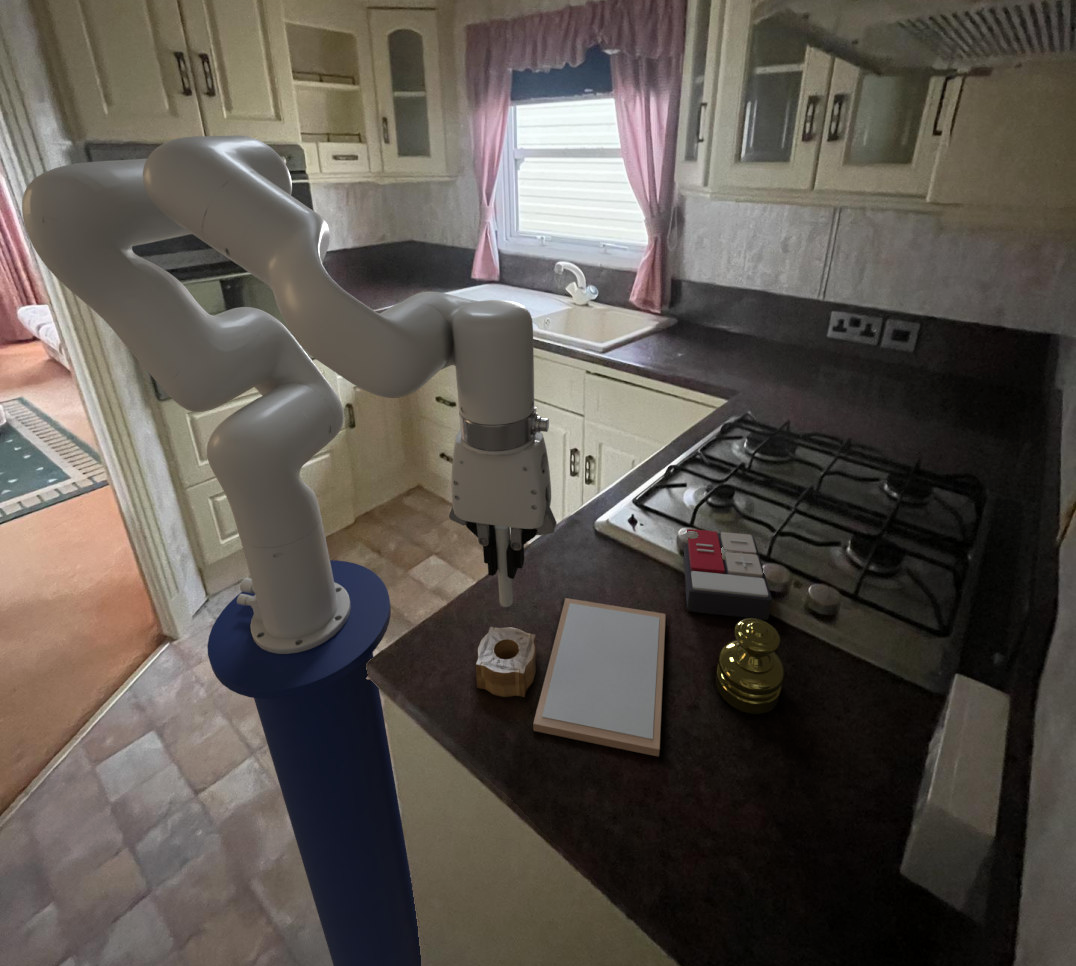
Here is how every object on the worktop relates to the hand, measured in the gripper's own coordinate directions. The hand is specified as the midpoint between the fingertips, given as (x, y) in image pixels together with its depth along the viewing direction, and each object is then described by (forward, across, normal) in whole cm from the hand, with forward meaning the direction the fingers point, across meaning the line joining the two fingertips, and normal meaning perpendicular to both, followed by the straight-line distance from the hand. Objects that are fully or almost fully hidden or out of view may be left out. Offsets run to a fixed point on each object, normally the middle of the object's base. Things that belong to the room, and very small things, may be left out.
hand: (504, 568), depth 68 cm
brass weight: (+17, -29, -4) cm, 34 cm away
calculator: (+17, -27, -23) cm, 39 cm away
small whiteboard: (+17, -12, -3) cm, 21 cm away
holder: (+17, 0, 0) cm, 17 cm away
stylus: (+6, 0, 0) cm, 6 cm away
